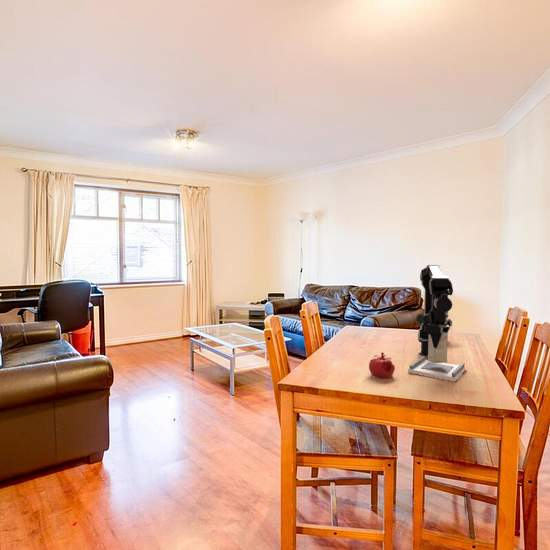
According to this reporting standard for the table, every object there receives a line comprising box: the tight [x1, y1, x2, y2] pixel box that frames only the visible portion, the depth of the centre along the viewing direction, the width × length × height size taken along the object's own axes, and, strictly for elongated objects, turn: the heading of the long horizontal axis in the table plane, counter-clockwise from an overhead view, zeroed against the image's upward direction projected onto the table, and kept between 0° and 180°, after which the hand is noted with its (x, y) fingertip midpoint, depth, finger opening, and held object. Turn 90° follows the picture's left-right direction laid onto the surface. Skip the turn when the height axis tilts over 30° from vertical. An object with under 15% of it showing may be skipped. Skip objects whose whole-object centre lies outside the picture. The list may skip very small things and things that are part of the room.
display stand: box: [407, 355, 467, 382], centre depth 161 cm, size 18×18×3 cm
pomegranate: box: [368, 351, 396, 379], centre depth 155 cm, size 10×10×9 cm
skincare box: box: [427, 332, 449, 363], centre depth 160 cm, size 6×4×12 cm
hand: (437, 345), depth 160 cm, fingers closed on skincare box, 7 cm apart
